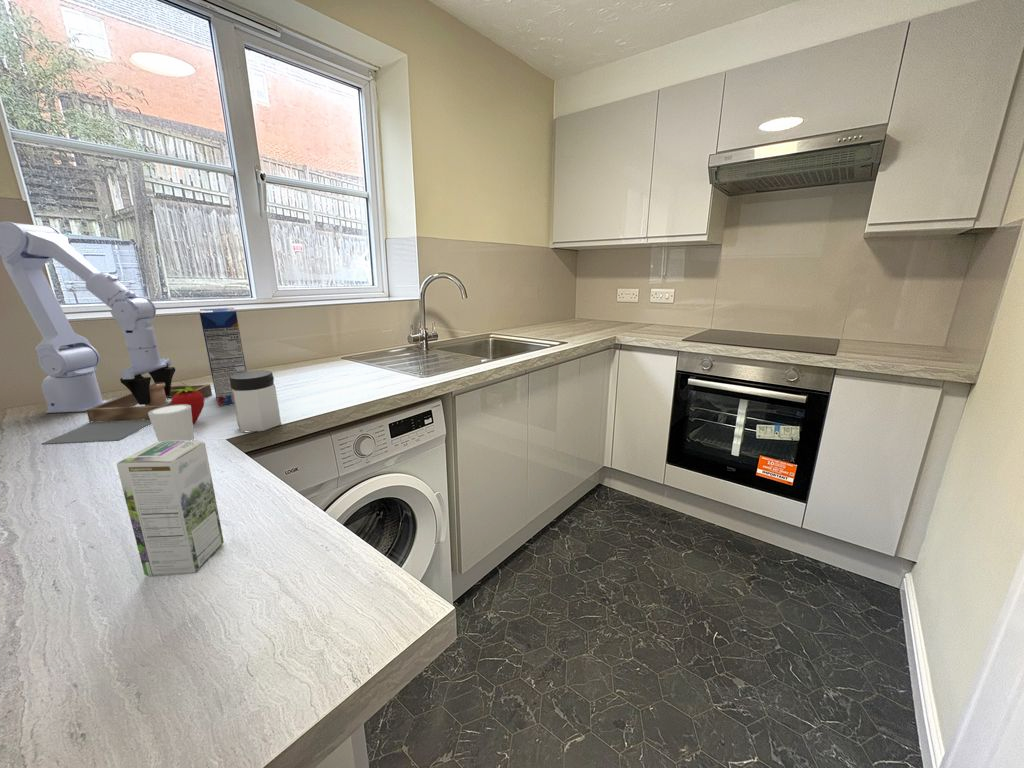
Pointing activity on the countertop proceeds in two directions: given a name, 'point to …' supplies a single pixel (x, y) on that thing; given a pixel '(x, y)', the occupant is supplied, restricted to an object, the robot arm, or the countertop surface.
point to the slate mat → (101, 432)
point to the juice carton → (223, 349)
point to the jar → (255, 400)
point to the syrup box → (171, 506)
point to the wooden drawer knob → (157, 394)
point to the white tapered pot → (172, 422)
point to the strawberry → (189, 400)
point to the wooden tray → (123, 410)
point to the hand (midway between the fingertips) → (155, 399)
